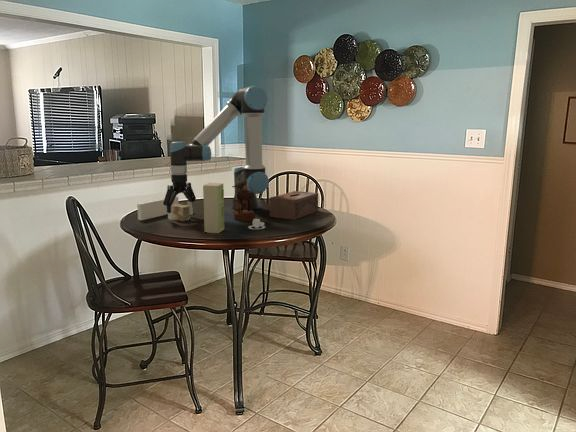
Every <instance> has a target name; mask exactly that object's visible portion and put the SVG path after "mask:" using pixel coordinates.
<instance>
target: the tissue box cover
mask: <svg viewBox="0 0 576 432" xmlns="http://www.w3.org/2000/svg"><path fill="white" fill-rule="evenodd" d="M318 211H319V192H310V191H301V190H300V191H299V190H297V191H296V190H294V191H290V192H286V193H283V194H278V195H275V196H271V197H269V217H271V218H277V219H286V220H293V221H295V220H298V219H300V218H302V217H306V216H308V215H311V214H314V213H316V212H318Z"/></svg>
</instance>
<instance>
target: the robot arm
mask: <svg viewBox="0 0 576 432" xmlns="http://www.w3.org/2000/svg"><path fill="white" fill-rule="evenodd" d="M268 98H269V97H268V94H267V92H266V91H265V89H264V88H262V87H261V86H258V85H250V86H243V87H241V88H239V89H238V90H237V91H236V92H235V93H234V94H233V95H232V96H231V97H230V98H229V99H228V100H227V102H226V105H225V106H224V108H222V109H221V111H219V113H217V115H215V117H214V118H213V119H211V120H210V122H209V123H208V124H207V125H206V126H205V127H204V128H203V129H202V130H201V131H200V132H199V133H198V134H197V135H196V136H195V137H194V138H193V140H191V141H190V142H189V143H186V142H185V141H171V142H170V145H169V148H170V149H169V153H170V154H169V155H170V157H169V158H170V173H171V175H170V176H171V177H170V179H171V182H172V184H168V185H166V186H167V187H166V189H167V190H166V193H165V195H164V196H165V197H164V198H163V199H164V202H163V205H165V206H167V213H168V214H167V219H168V220H172V221H174V220H173V206H171V205H172V203H173V201H174V199H175V197H178V195H179V194H183V195H184V197H185V198H186V200H187V202H186V205H189V207H190V215H191V216H192V215H193V214H194V209H193V208H194V202H195V201H196V199H197V198H196V195H195V192H194V190H193V186H192V182H188V174H187V173H188V167H187V166H188V165H187V164H188V163H187V162H207V161H210V160H211V159H212V149H211V146H210V144H211V143H212V142H214V140H215V139H217V137H218V136H219V135H220V134H221V133H222V132H223V131H225V129H226V128H227V127H228V126H229V124H231V123H232V122H233V121H234V120H235V119H236V118H237V117H240V116H241V115H242V116H243V117H244V143H245V144H244V146H245V165H244V166H237V167H235V168H234V171H233V176H234V177H233V178H234V180H233V183H234V185H233V186H235V185H236V184H238V183H240V182H243V181H244V180H246V181H247V184H246V185H247V187H246V186H244V187H242V188H240V191H242V190H243V189H244V188H245V189H246V188H247V190H249V191H253V192H254V197H253V199H250V200H253V201H251V202H252V203H253V205H250V210H251V211H254V210H259V209H260V203H259V200H258V198H257V195H260V194H261V193H264V192H265V191H266V190H267V189H268V187H269V184H270V182H269V181H270V180H269V177H268V175H267V174H266V166H265V165H264V164H263V131H262V127H263V125H262V124H263V123H262V117H263V116H264V115H265V108H266V106H267V104H268ZM237 191H239V188H237V190H236V187H234V196H233V199H232V203H231V209H232V210H234V211H235V207H236V202H234V200H236V192H237ZM237 200H238V199H237ZM245 201H246V200H245ZM169 203H170V204H169ZM239 204H241V203H240V202H237V206H239ZM242 204H243V200H242ZM247 204H248V200H247ZM238 208H239V207H238ZM243 208H244V209H243V210H248V205H247V208H245V207H244V206H243Z"/></svg>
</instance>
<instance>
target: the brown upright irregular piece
mask: <svg viewBox="0 0 576 432" xmlns="http://www.w3.org/2000/svg"><path fill="white" fill-rule="evenodd" d="M246 184H247V181H246V180H244V181H243V182H240V183H238V184H236V185H235V186H234V185H232V186H231V187H232V188H235V187H236V190H237V188H239V191H237V192H236V200H234V202H236V207H235V210H234V213H233V218H234V219H233V220H234V221H235V222H236V221H237V222H238V221H239V222H249V221H250V222H251V221H253V219H256V216H255V215H256V213H255V211H254V210H250V205H253V203H252V202H251V201H253V200H250V199H253V197H254V192H253V191H249V190H247V188H246V189H245V188H244V189H243V190H242V191H240V188H242V187H244V186H246V187H247V185H246ZM237 199H238V200H237ZM242 200H243V204H242ZM245 200H246V201H245ZM247 200H248V204H247ZM237 202H240V203H241V204H239V206H237ZM247 205H248V210H243V209H244V208H243V206H244V207H245V208H247ZM238 207H239V208H238Z"/></svg>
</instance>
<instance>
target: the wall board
mask: <svg viewBox="0 0 576 432" xmlns="http://www.w3.org/2000/svg"><path fill="white" fill-rule="evenodd" d="M164 199H165V198H161V199H156V200H150V201H146V202H141V203H137V205H136V206H137V220H138V221H145V220H149V219H154V218H157V217H163V216H166V215H168V213H167V206H165V205H163V202H164ZM169 204H170V203H169ZM178 204H180V203H179V196H176V197H175V199H174V201H173V203H172V205H171V206H173V205H178Z"/></svg>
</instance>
